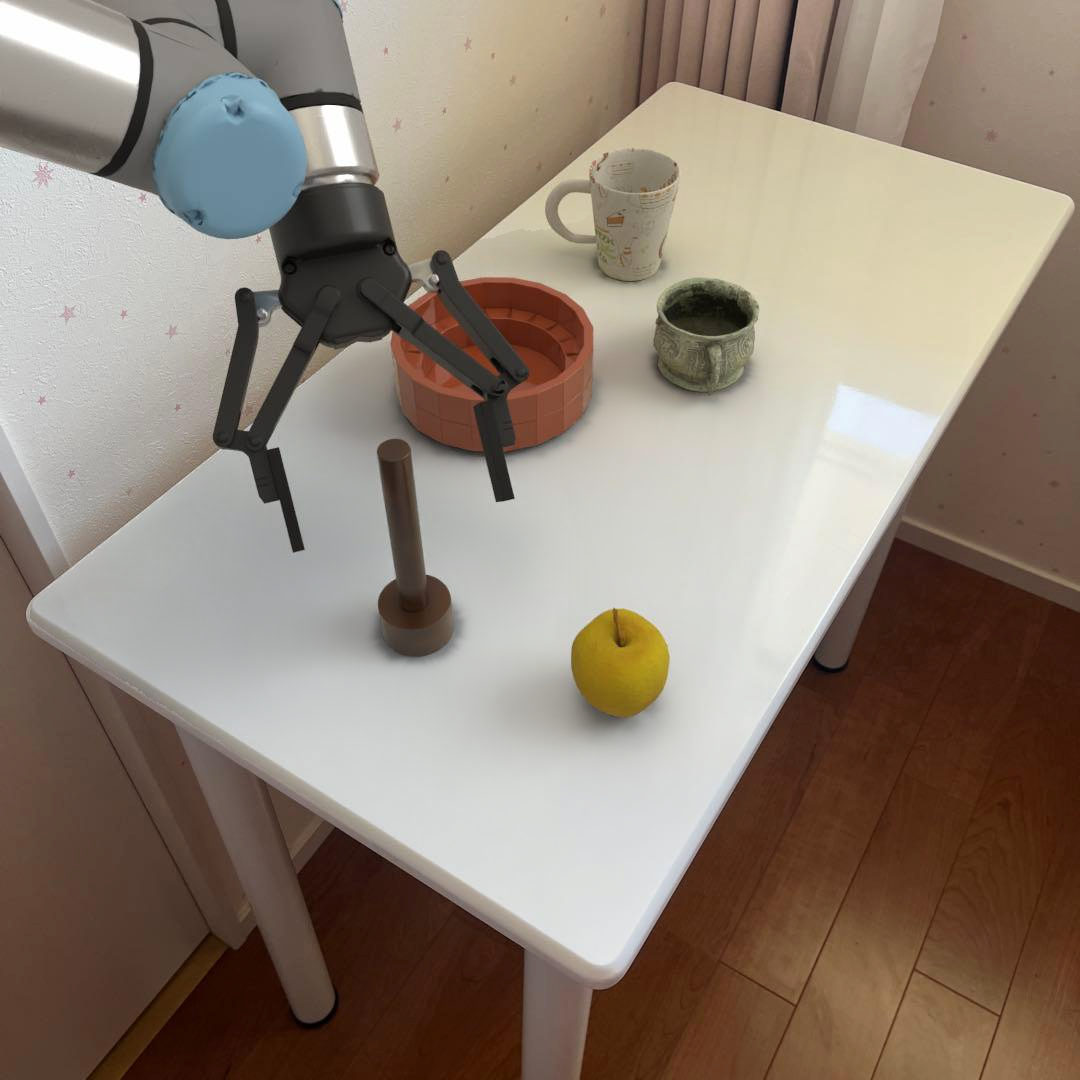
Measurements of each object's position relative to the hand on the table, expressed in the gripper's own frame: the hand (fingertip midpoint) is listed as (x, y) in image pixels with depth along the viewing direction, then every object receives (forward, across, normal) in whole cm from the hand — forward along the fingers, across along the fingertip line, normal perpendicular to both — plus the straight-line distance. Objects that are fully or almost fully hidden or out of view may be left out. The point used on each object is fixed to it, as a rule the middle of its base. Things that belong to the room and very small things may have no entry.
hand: (404, 526), depth 71 cm
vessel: (-7, -31, -21) cm, 38 cm away
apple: (+15, -11, 0) cm, 18 cm away
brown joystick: (+7, 0, -6) cm, 10 cm away
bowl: (-9, -13, -23) cm, 28 cm away
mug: (-20, -29, -34) cm, 49 cm away
